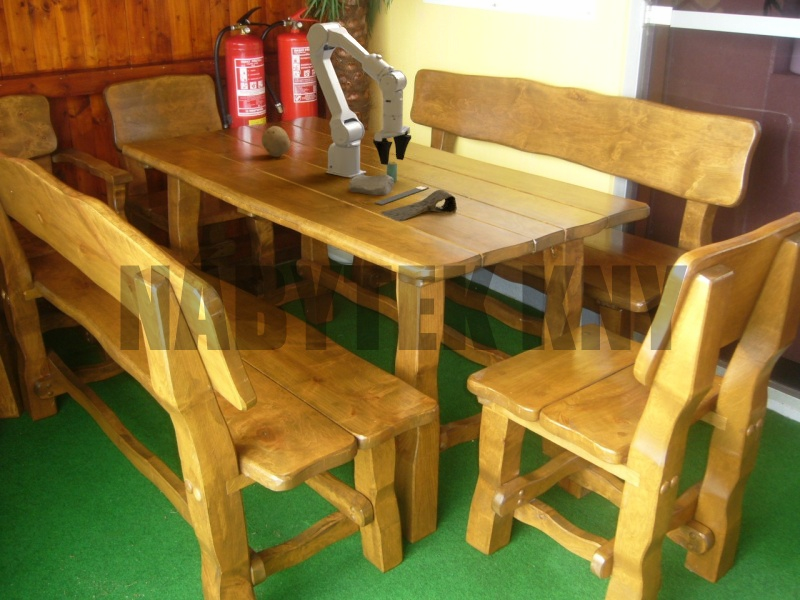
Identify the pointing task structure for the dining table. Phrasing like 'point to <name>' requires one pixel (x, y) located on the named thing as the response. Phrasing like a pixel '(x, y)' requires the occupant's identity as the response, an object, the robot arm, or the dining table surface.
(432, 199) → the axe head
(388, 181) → the stone block
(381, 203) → the bar
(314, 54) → the robot arm
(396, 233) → the dining table surface
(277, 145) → the brown oval lump
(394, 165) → the teal cylinder cream end
